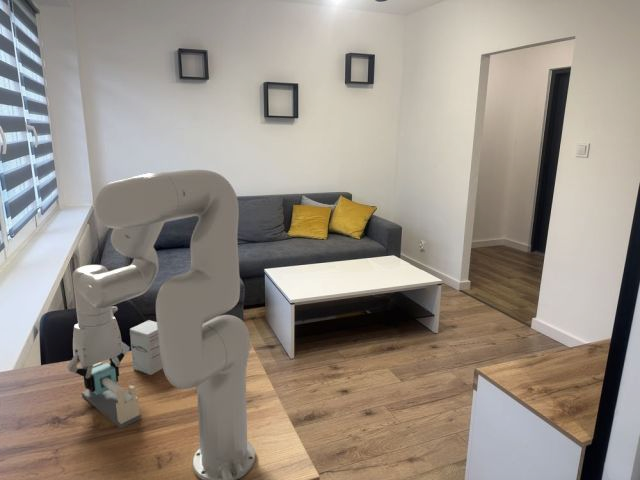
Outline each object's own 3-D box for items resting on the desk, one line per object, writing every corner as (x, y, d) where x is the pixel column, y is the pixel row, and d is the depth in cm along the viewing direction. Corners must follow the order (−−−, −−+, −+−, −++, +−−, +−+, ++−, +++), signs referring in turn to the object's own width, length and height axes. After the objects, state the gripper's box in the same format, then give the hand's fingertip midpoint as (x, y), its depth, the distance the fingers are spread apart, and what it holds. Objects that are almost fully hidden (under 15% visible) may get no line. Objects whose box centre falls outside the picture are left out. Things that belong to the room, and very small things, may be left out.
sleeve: (116, 386, 110) (115, 368, 109) (96, 394, 107) (94, 376, 105) (109, 380, 113) (107, 362, 112) (89, 388, 109) (87, 370, 108)
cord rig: (141, 418, 104) (138, 386, 102) (120, 428, 101) (117, 395, 99) (101, 387, 117) (98, 358, 115) (82, 395, 113) (78, 365, 111)
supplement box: (132, 369, 126) (128, 328, 123) (152, 358, 132) (149, 319, 129) (150, 376, 123) (147, 334, 120) (170, 364, 129) (168, 324, 126)
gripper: (122, 302, 114) (128, 366, 118) (50, 323, 101) (59, 394, 105) (137, 310, 109) (142, 376, 114) (63, 333, 96) (72, 406, 101)
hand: (102, 384), depth 109 cm, fingers closed on sleeve, 5 cm apart
